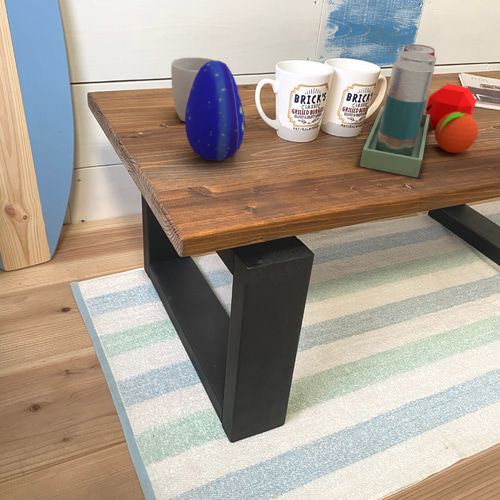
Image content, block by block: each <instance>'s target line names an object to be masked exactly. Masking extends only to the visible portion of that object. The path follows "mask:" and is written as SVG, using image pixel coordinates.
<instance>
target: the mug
mask: <svg viewBox="0 0 500 500" xmlns="http://www.w3.org/2000/svg"><path fill="white" fill-rule="evenodd" d="M209 61H217V60H215V59H212V58H207V57H194V56H193V57H190V56H189V57H188V56H187V57H179V58H175V59H174V60H172V61H171V67H170V68H171V69H170V73H171V75H170V76H171V88H172V89H171V91H172V98H173V104H174V107H175V111H176V114H177V116H178V117H179V120H181V121H182V122H184V123H185V113H186V106H187V102H188V98H189V94H190V91H191V88H192V85H193V82H194V79H195V77H196V75H197V73H198V71H199V70H200V68H201V67H202V66H203V65H204V64H206V63H207V62H209Z"/></svg>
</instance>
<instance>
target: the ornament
mask: <svg viewBox="0 0 500 500" xmlns="http://www.w3.org/2000/svg"><path fill="white" fill-rule="evenodd" d="M184 124H185V125H184V127H185V134H186V139H187V141H188V144H189V146H190V148H191V150H192V151H193V152H194V153H195V154H196V155H197V156H199V157H200V158H202V159H205V160H208V161H214V162H215V161H216V162H217V161H225V160H230V159H232V158H233V157H234V156H235V155H236V154H237V153H238V151H239V150H240V148H241V146H242V143H243V139H244V134H245V128H246V119H245V112H244V108H243V104H242V99H241V95H240V91H239V88H238V85H237V82H236V80H235V77H234V75H233V73H232V71H231V69H230V68H229V66H228V65H227V63H226V62H223V61H221V60H216V61H209V62H207V63H206V64H204V65H203V66H202V67H201V68H200V70H199V71H198V73H197V75H196V77H195V79H194V82H193V85H192V88H191V91H190V94H189V98H188V102H187V106H186V113H185V122H184Z"/></svg>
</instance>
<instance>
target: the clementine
mask: <svg viewBox="0 0 500 500" xmlns="http://www.w3.org/2000/svg"><path fill="white" fill-rule="evenodd" d="M478 133H479V129H478V123H477V121H476V120H475V119H474V117H473V116H470V115H469V114H467V113H463V112H453V113H450V114H447V115H446V116H445V117H443V118H442V119H441V120H440V121H439V122H438V124H437V126H436V128H435V130H434V138H435V141H436V144H437V145H438V146H439V148H440V149H442V150H443V151H444V152H447V153H453V154H457V153H458V154H459V153H462V152H464V151H466V150H468V149H470V148H471V147H472V146H473V144H474V143H475V142H476V140H477V139H478Z"/></svg>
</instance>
